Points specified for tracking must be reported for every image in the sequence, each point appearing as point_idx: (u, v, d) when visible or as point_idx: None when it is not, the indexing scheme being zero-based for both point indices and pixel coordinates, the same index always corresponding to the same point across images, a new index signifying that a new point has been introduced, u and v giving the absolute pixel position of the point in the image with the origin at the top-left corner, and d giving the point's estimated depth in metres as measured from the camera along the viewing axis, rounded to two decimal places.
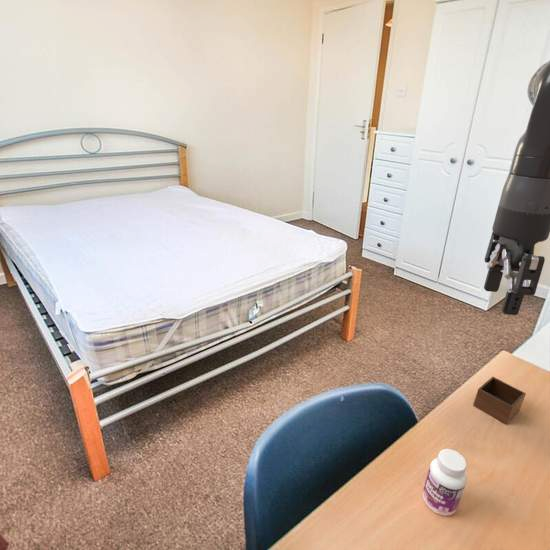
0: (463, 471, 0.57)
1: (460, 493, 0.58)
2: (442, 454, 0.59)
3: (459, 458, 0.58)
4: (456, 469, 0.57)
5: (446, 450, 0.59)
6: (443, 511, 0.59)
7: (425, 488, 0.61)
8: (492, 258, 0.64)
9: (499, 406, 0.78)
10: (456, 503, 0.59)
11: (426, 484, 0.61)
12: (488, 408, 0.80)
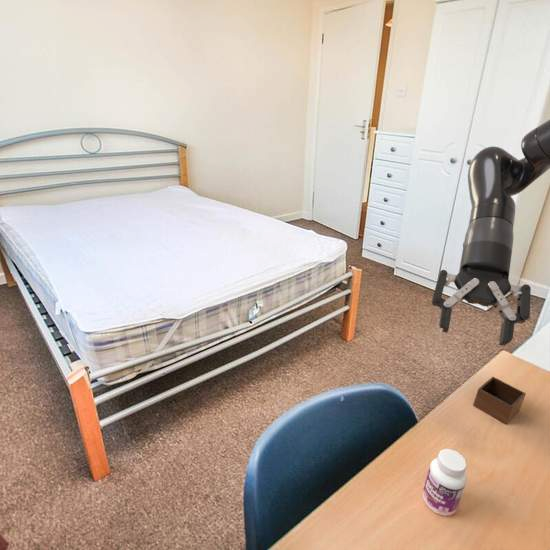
0: (463, 471, 0.57)
1: (460, 493, 0.58)
2: (442, 454, 0.59)
3: (459, 458, 0.58)
4: (456, 469, 0.57)
5: (446, 450, 0.59)
6: (443, 511, 0.59)
7: (425, 488, 0.61)
8: None
9: (499, 406, 0.78)
10: (456, 503, 0.59)
11: (426, 484, 0.61)
12: (488, 408, 0.80)
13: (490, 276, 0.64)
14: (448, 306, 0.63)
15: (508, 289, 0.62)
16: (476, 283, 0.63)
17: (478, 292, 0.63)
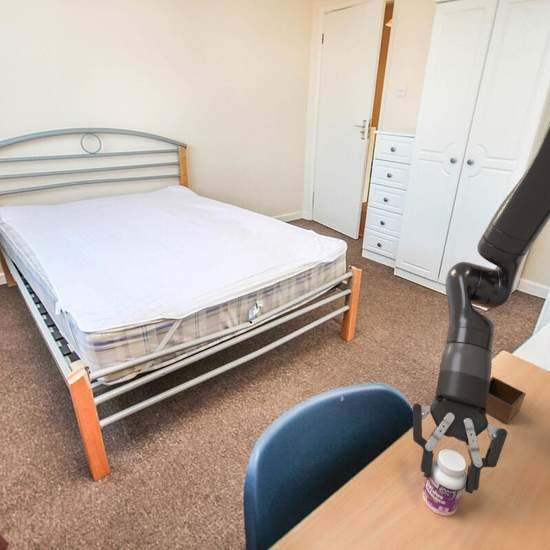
0: (463, 471, 0.57)
1: (460, 493, 0.58)
2: (442, 454, 0.59)
3: (459, 458, 0.58)
4: (456, 469, 0.57)
5: (446, 450, 0.59)
6: (443, 511, 0.59)
7: (425, 488, 0.61)
8: (467, 442, 0.61)
9: (499, 406, 0.78)
10: (456, 503, 0.59)
11: (426, 484, 0.61)
12: (488, 408, 0.80)
13: (466, 410, 0.60)
14: (430, 450, 0.59)
15: (485, 427, 0.59)
16: (452, 418, 0.59)
17: (454, 428, 0.60)
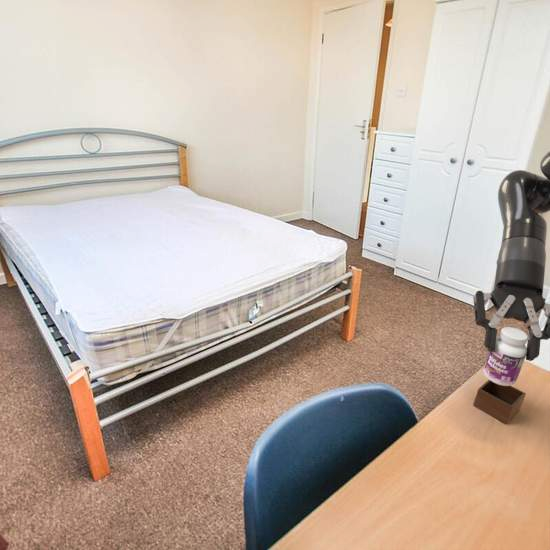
0: (525, 341, 0.64)
1: (521, 362, 0.65)
2: (504, 330, 0.66)
3: (520, 332, 0.66)
4: (519, 339, 0.64)
5: (507, 327, 0.67)
6: (505, 381, 0.67)
7: (487, 364, 0.69)
8: None
9: (499, 406, 0.78)
10: (517, 373, 0.66)
11: (488, 360, 0.69)
12: (488, 408, 0.80)
13: (525, 293, 0.68)
14: (493, 327, 0.67)
15: (542, 305, 0.66)
16: (513, 299, 0.67)
17: (514, 308, 0.67)
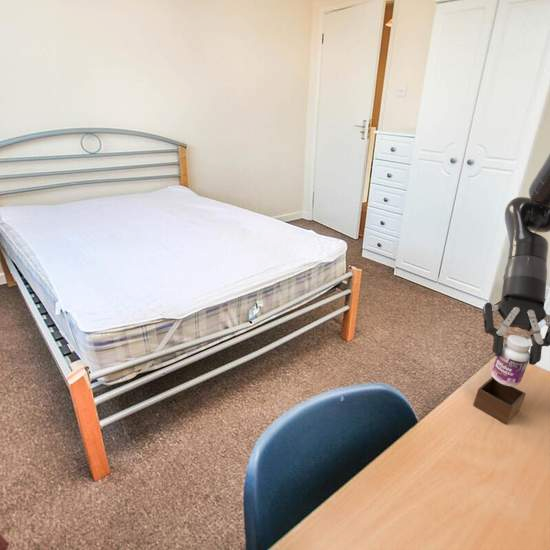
0: (528, 347, 0.74)
1: (525, 366, 0.75)
2: (510, 337, 0.76)
3: (524, 339, 0.75)
4: (523, 345, 0.74)
5: (513, 335, 0.77)
6: (510, 382, 0.76)
7: (495, 367, 0.78)
8: None
9: (499, 406, 0.78)
10: (521, 375, 0.76)
11: (496, 364, 0.78)
12: (488, 408, 0.80)
13: (528, 305, 0.77)
14: (500, 335, 0.76)
15: (544, 316, 0.76)
16: (517, 311, 0.76)
17: (519, 318, 0.77)
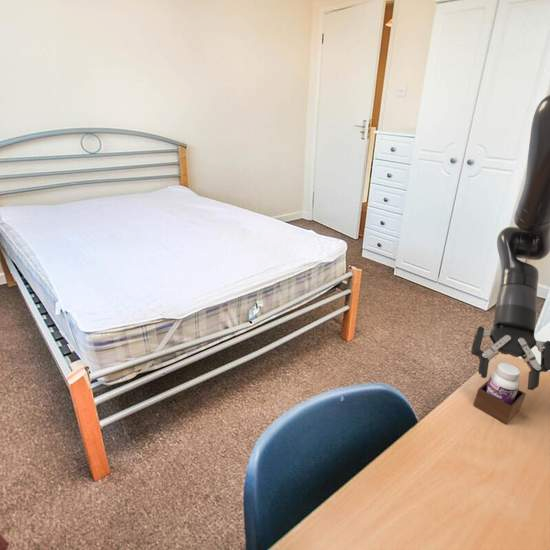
0: (518, 376, 0.77)
1: (515, 393, 0.78)
2: (501, 365, 0.79)
3: (514, 368, 0.78)
4: (513, 374, 0.77)
5: (503, 363, 0.80)
6: None
7: None
8: None
9: (499, 406, 0.78)
10: (511, 402, 0.79)
11: (487, 390, 0.81)
12: (488, 408, 0.80)
13: (519, 333, 0.80)
14: (486, 357, 0.80)
15: (534, 344, 0.78)
16: (508, 339, 0.79)
17: (510, 346, 0.79)
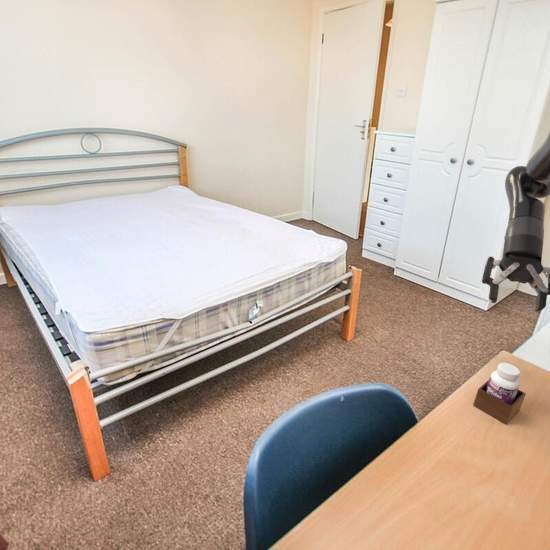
0: (518, 376, 0.77)
1: (515, 393, 0.78)
2: (501, 365, 0.79)
3: (514, 368, 0.78)
4: (513, 374, 0.77)
5: (503, 363, 0.80)
6: None
7: None
8: None
9: (499, 406, 0.78)
10: (511, 402, 0.79)
11: (487, 390, 0.81)
12: (488, 408, 0.80)
13: (527, 261, 0.85)
14: (496, 283, 0.85)
15: (541, 270, 0.84)
16: (517, 266, 0.84)
17: (519, 272, 0.84)
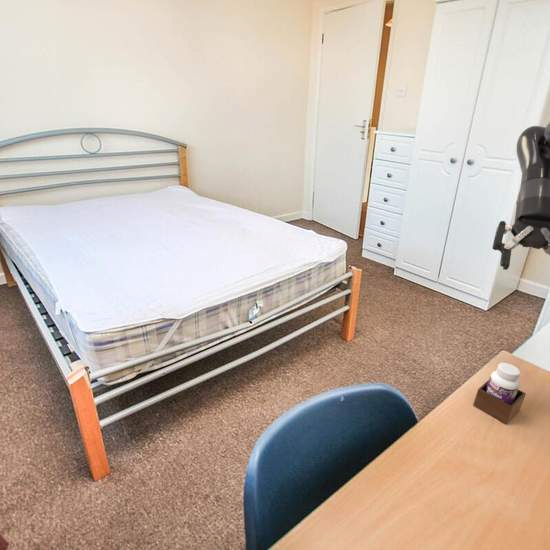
0: (518, 376, 0.77)
1: (515, 393, 0.78)
2: (501, 365, 0.79)
3: (514, 368, 0.78)
4: (513, 374, 0.77)
5: (503, 363, 0.80)
6: None
7: None
8: None
9: (499, 406, 0.78)
10: (511, 402, 0.79)
11: (487, 390, 0.81)
12: (488, 408, 0.80)
13: (541, 224, 0.79)
14: (508, 248, 0.79)
15: None
16: (531, 229, 0.79)
17: (532, 237, 0.79)
